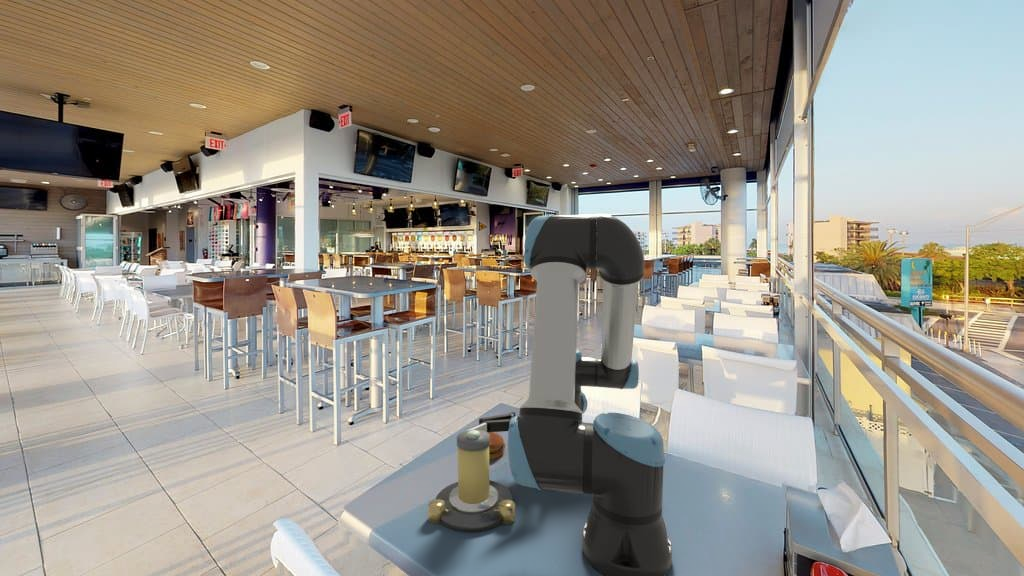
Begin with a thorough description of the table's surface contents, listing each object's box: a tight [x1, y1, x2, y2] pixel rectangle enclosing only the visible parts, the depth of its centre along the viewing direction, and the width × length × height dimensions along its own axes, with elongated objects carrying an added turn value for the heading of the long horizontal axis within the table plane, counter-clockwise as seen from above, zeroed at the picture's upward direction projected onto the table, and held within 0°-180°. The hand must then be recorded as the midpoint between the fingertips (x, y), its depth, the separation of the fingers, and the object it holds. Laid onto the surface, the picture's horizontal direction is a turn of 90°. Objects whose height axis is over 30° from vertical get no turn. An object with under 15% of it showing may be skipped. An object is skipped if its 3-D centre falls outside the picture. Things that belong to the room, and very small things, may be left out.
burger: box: [487, 432, 506, 461], centre depth 110 cm, size 10×9×5 cm
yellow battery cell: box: [456, 429, 490, 504], centre depth 85 cm, size 7×7×13 cm
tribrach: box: [427, 479, 516, 533], centre depth 85 cm, size 17×18×3 cm
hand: (487, 446), depth 89 cm, fingers open, 13 cm apart
